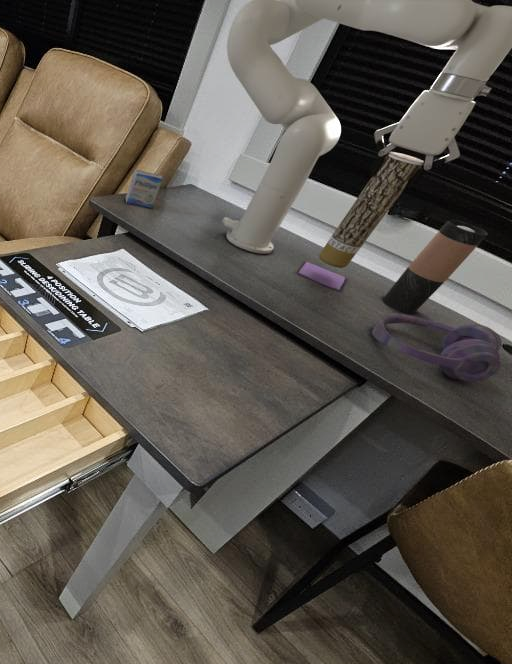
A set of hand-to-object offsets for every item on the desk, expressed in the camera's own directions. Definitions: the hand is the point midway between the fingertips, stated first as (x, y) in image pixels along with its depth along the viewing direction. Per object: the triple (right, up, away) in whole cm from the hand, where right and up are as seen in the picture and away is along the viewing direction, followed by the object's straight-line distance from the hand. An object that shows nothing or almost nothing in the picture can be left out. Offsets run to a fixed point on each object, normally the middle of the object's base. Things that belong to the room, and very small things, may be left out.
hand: (389, 180), depth 101 cm
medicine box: (-45, +9, +36) cm, 58 cm away
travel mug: (+11, -26, +10) cm, 30 cm away
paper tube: (-3, -15, +14) cm, 20 cm away
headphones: (+1, -39, -6) cm, 40 cm away
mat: (-4, -18, +16) cm, 24 cm away
